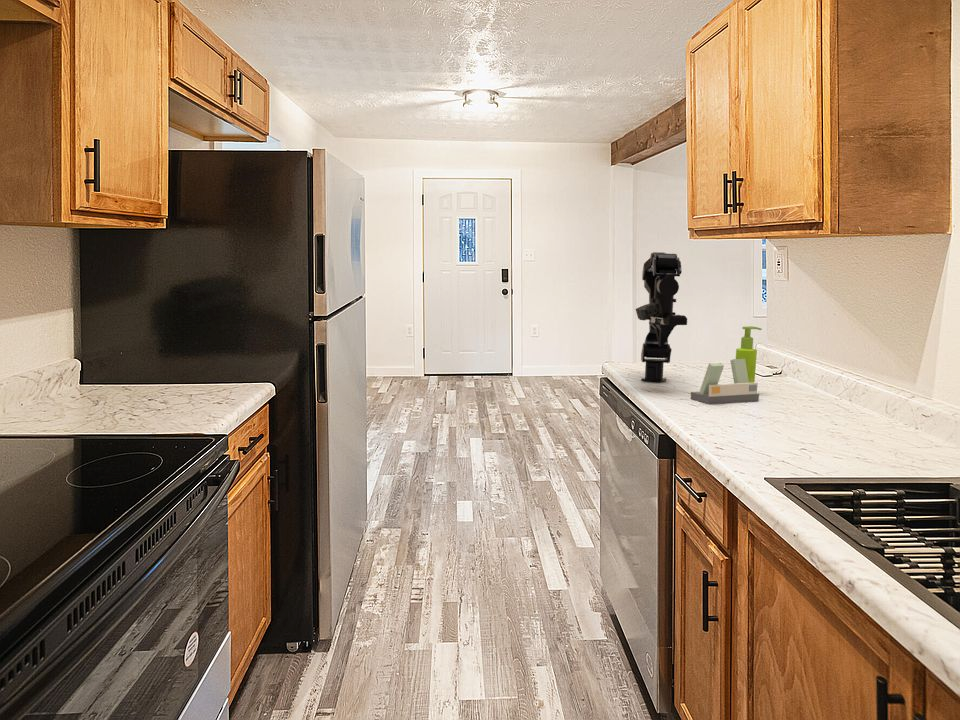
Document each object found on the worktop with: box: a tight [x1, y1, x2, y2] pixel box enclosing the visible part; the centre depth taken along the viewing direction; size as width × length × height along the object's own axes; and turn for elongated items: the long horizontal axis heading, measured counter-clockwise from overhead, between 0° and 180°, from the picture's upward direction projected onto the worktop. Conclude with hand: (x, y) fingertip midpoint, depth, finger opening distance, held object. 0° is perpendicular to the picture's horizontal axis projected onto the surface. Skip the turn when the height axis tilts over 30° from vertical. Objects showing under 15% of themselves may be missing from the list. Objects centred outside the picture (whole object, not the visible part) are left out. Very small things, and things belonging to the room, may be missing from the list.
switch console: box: [690, 381, 760, 405], centre depth 233 cm, size 8×18×5 cm, turn 113°
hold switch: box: [730, 358, 749, 384], centre depth 236 cm, size 2×4×9 cm, turn 113°
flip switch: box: [699, 362, 725, 394], centre depth 228 cm, size 2×4×9 cm, turn 114°
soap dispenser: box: [735, 326, 763, 383], centre depth 245 cm, size 6×7×20 cm
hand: (661, 346), depth 249 cm, fingers closed
